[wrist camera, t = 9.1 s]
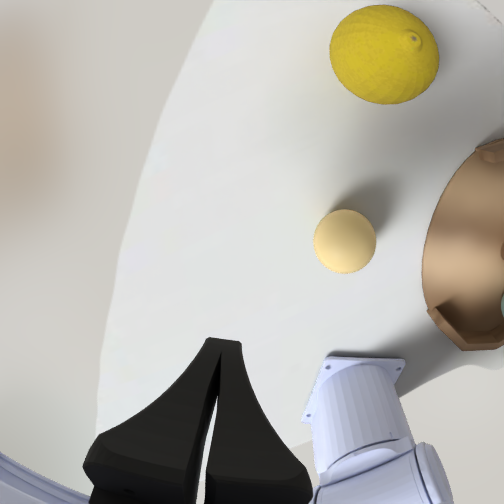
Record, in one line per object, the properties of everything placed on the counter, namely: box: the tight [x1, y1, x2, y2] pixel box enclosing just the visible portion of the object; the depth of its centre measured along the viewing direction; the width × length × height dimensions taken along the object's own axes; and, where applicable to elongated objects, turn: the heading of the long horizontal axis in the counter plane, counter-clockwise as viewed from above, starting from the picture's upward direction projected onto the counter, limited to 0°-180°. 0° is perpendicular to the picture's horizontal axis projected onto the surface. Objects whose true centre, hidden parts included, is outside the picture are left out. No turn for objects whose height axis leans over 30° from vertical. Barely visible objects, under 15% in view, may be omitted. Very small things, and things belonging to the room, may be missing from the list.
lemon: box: [330, 5, 439, 104], centre depth 13 cm, size 6×6×8 cm
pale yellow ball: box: [313, 209, 376, 274], centre depth 19 cm, size 4×4×4 cm
